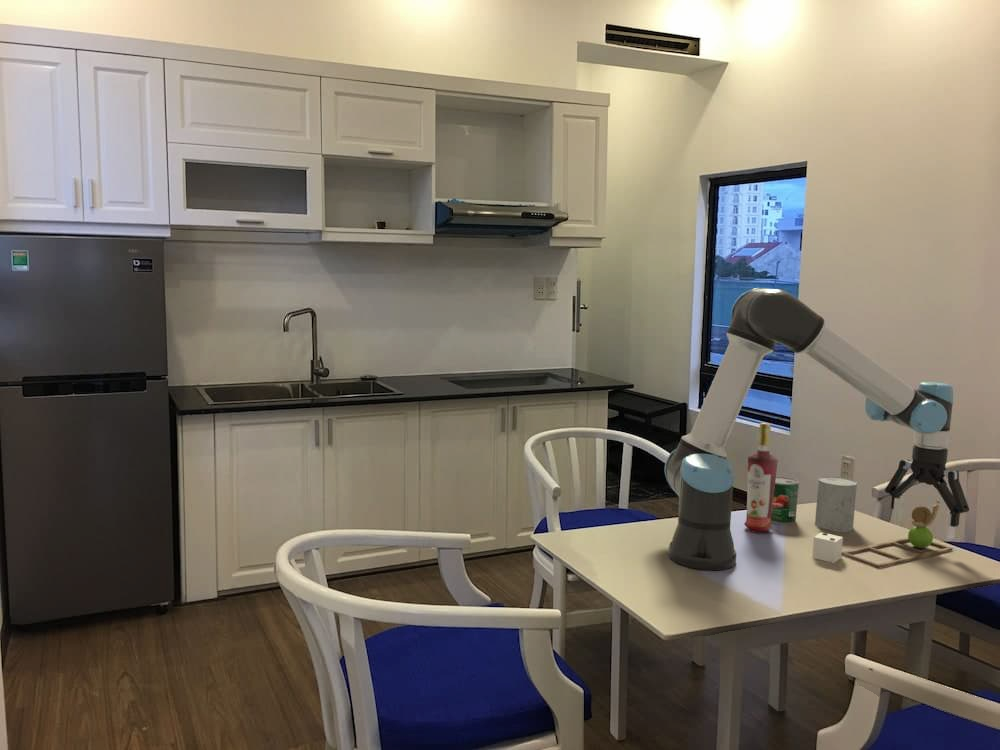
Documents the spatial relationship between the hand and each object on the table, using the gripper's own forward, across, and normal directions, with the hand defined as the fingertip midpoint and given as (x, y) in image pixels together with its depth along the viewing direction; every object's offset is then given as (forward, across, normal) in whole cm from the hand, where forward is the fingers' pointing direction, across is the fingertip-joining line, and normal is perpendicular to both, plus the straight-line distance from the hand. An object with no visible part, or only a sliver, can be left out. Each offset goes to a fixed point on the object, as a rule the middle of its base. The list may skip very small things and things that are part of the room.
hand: (922, 530), depth 199 cm
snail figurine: (+4, 0, 0) cm, 4 cm away
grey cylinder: (+4, +21, +5) cm, 22 cm away
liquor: (+4, +27, +27) cm, 39 cm away
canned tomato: (+4, +31, +14) cm, 34 cm away
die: (+4, +5, +28) cm, 29 cm away
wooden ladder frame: (+4, 0, +9) cm, 10 cm away
